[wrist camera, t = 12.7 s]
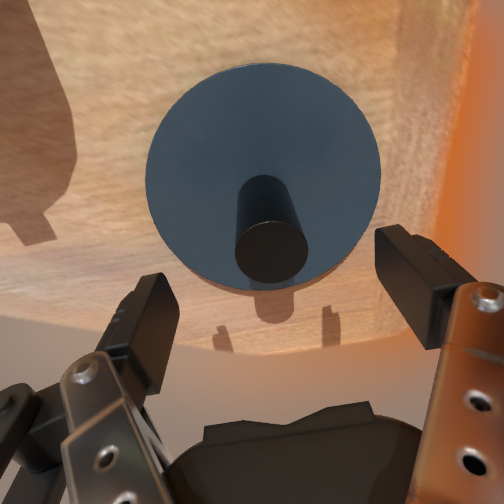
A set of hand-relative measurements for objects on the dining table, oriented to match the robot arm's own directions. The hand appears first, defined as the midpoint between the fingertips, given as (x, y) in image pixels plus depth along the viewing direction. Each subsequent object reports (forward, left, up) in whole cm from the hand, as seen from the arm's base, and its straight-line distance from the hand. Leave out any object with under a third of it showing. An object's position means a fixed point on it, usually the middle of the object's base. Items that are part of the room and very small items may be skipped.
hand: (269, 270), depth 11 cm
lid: (0, 0, -8) cm, 8 cm away
